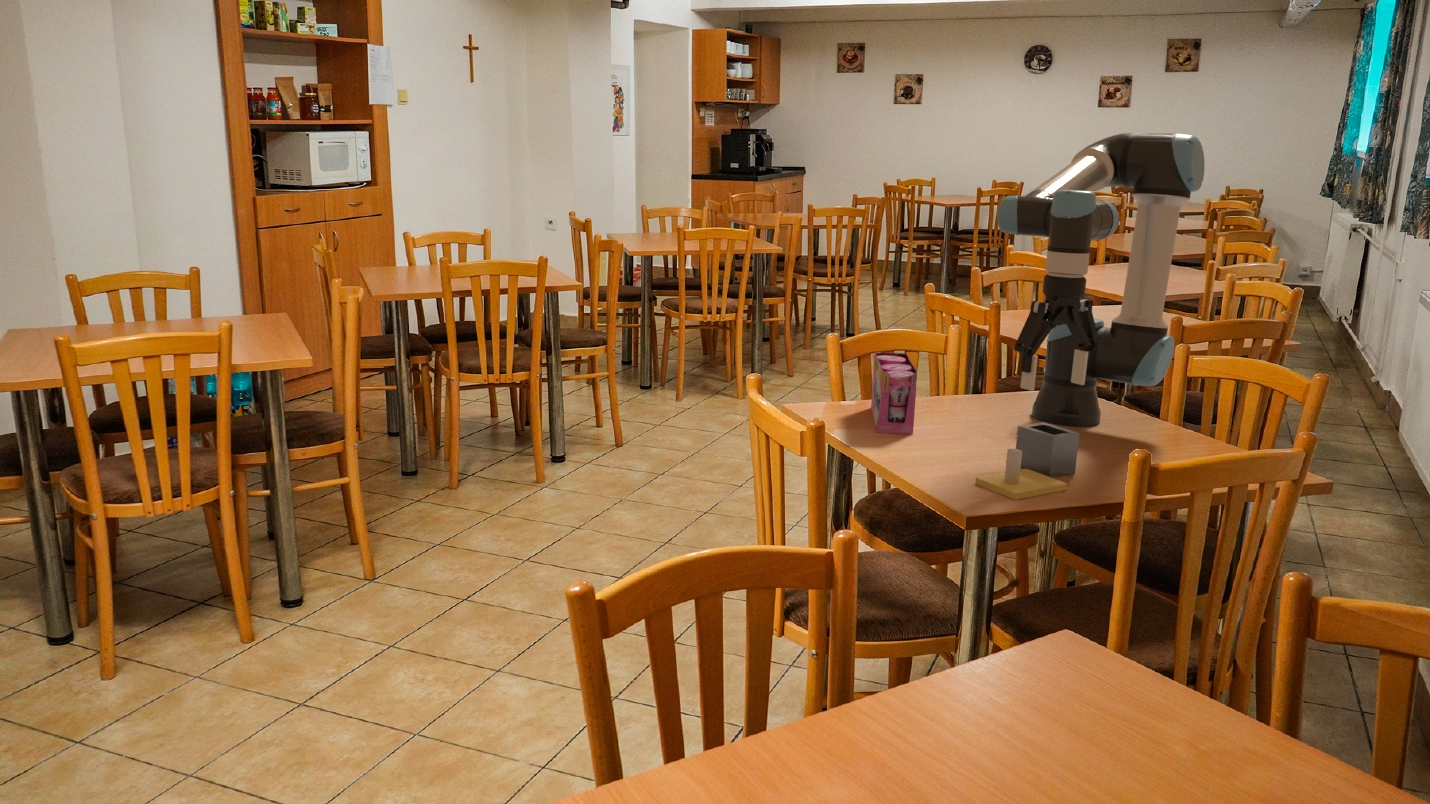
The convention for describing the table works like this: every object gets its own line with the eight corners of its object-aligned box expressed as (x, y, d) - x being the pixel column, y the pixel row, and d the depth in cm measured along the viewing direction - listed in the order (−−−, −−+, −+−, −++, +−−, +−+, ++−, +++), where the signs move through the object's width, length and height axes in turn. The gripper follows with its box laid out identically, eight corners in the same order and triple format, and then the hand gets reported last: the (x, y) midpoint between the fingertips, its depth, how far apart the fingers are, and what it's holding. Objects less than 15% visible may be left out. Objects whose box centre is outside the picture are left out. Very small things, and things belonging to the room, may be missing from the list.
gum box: (914, 436, 226) (919, 374, 223) (877, 434, 226) (881, 373, 223) (903, 409, 249) (907, 353, 246) (869, 408, 250) (873, 351, 246)
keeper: (1025, 474, 201) (1029, 438, 200) (1066, 489, 193) (1071, 452, 191) (975, 483, 195) (978, 446, 193) (1015, 499, 187) (1019, 460, 185)
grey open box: (1014, 465, 207) (1018, 425, 205) (1039, 460, 211) (1043, 422, 209) (1049, 478, 200) (1053, 437, 198) (1074, 473, 203) (1079, 433, 201)
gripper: (1095, 270, 206) (1082, 377, 210) (1001, 274, 193) (990, 387, 198) (1127, 275, 199) (1113, 385, 204) (1032, 279, 187) (1020, 395, 192)
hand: (1052, 386), depth 201 cm, fingers open, 13 cm apart
